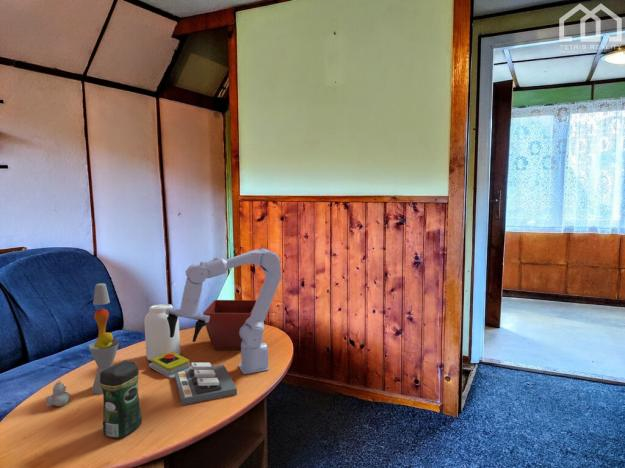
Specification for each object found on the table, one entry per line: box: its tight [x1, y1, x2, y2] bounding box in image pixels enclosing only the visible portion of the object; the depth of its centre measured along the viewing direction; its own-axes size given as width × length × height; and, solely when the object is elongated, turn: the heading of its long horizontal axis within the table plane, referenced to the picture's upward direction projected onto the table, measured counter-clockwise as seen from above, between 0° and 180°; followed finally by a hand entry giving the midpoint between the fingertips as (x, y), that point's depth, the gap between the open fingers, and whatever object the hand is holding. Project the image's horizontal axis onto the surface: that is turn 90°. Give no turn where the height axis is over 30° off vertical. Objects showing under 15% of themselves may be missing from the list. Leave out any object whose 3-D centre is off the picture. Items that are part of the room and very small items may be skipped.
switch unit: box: [174, 364, 238, 406], centre depth 142 cm, size 17×20×4 cm
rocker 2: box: [194, 370, 215, 377], centre depth 142 cm, size 6×4×1 cm, turn 114°
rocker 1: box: [190, 362, 213, 369], centre depth 148 cm, size 6×4×1 cm, turn 114°
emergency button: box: [148, 352, 192, 380], centre depth 155 cm, size 9×4×15 cm
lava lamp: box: [88, 283, 120, 395], centre depth 140 cm, size 9×9×35 cm
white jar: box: [143, 303, 181, 362], centre depth 165 cm, size 12×12×20 cm
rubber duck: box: [45, 380, 71, 407], centre depth 129 cm, size 5×7×8 cm
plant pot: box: [202, 299, 257, 351], centre depth 178 cm, size 19×19×17 cm
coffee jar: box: [100, 359, 143, 439], centre depth 116 cm, size 10×8×19 cm
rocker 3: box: [197, 378, 219, 386], centre depth 136 cm, size 6×4×1 cm, turn 114°
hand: (183, 338), depth 145 cm, fingers open, 7 cm apart
